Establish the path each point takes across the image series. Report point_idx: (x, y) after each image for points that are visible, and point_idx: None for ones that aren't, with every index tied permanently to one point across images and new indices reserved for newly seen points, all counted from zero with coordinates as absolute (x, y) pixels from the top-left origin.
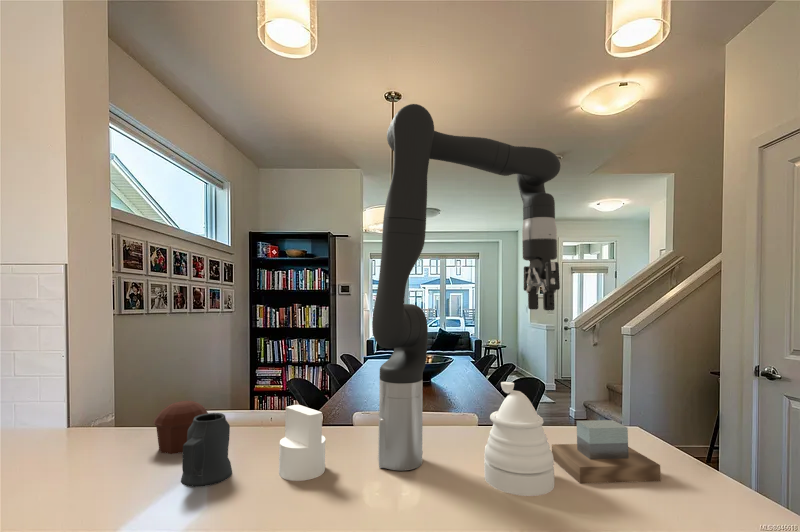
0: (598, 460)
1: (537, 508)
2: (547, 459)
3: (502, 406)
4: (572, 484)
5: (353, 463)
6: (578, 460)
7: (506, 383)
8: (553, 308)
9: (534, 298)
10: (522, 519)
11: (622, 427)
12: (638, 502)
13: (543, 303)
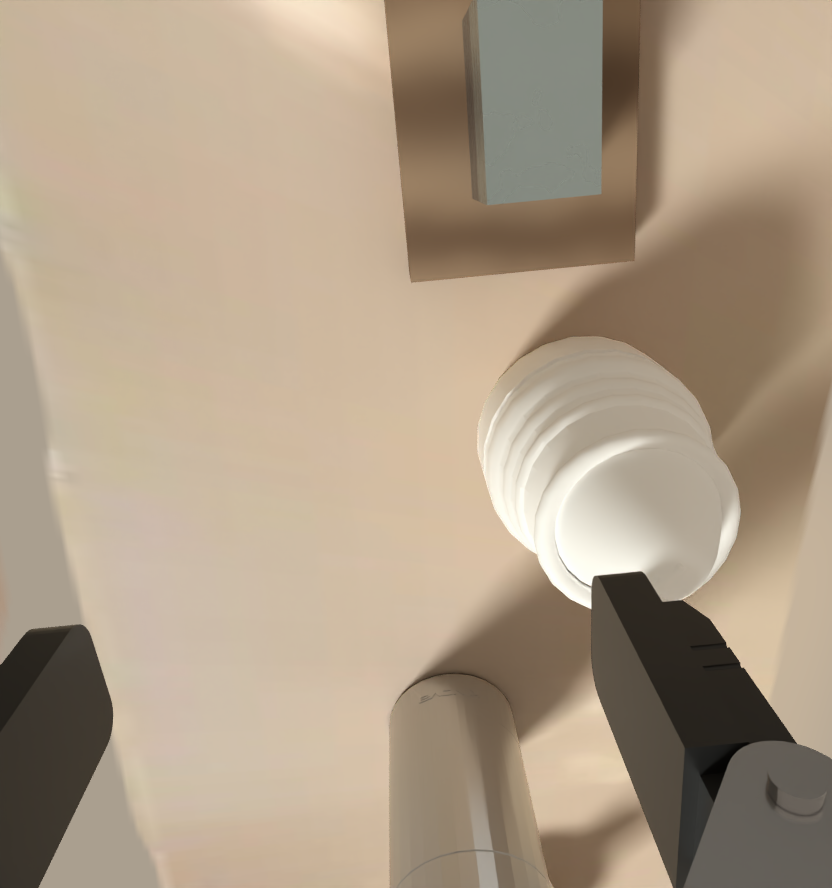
0: None
1: (745, 430)
2: (694, 401)
3: None
4: (619, 281)
5: None
6: (577, 240)
7: None
8: (644, 586)
9: (18, 794)
10: (788, 479)
11: (599, 9)
12: (756, 119)
13: (625, 746)
